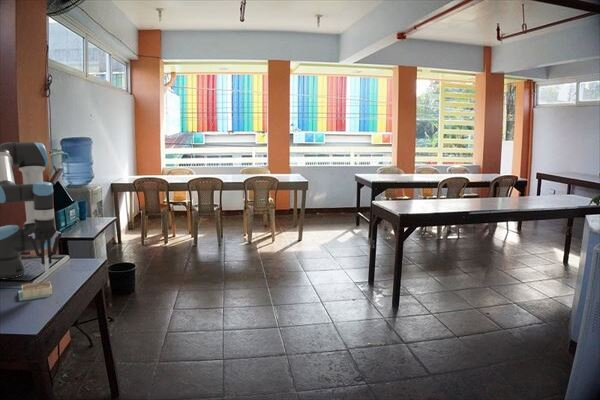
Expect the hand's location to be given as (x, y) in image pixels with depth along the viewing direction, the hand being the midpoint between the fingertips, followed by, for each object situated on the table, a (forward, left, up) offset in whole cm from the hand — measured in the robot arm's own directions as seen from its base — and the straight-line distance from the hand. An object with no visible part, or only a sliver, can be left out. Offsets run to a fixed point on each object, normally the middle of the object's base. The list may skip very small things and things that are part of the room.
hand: (46, 270), depth 207 cm
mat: (0, -5, -10) cm, 11 cm away
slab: (0, +1, -8) cm, 8 cm away
